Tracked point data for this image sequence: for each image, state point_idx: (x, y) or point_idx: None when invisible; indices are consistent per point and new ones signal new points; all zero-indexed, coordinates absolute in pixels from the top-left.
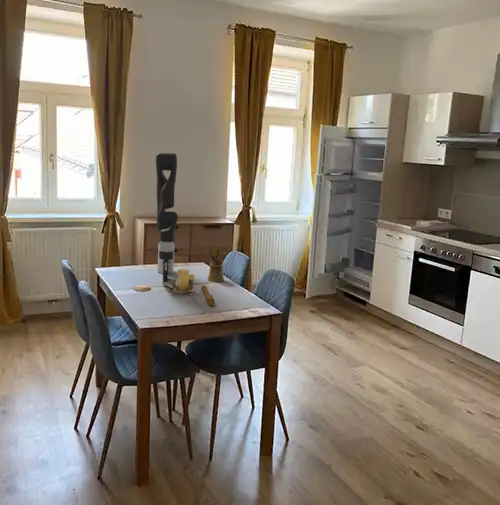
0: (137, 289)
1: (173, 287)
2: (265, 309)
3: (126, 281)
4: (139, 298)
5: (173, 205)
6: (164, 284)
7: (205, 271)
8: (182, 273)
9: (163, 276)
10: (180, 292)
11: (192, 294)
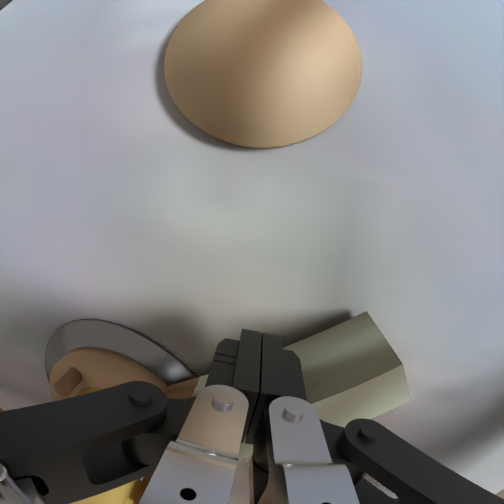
0: (195, 14)
1: (187, 386)
2: None
3: (494, 31)
4: (14, 68)
5: None
6: (333, 331)
7: (489, 489)
8: None
9: (233, 376)
10: (53, 377)
11: None
